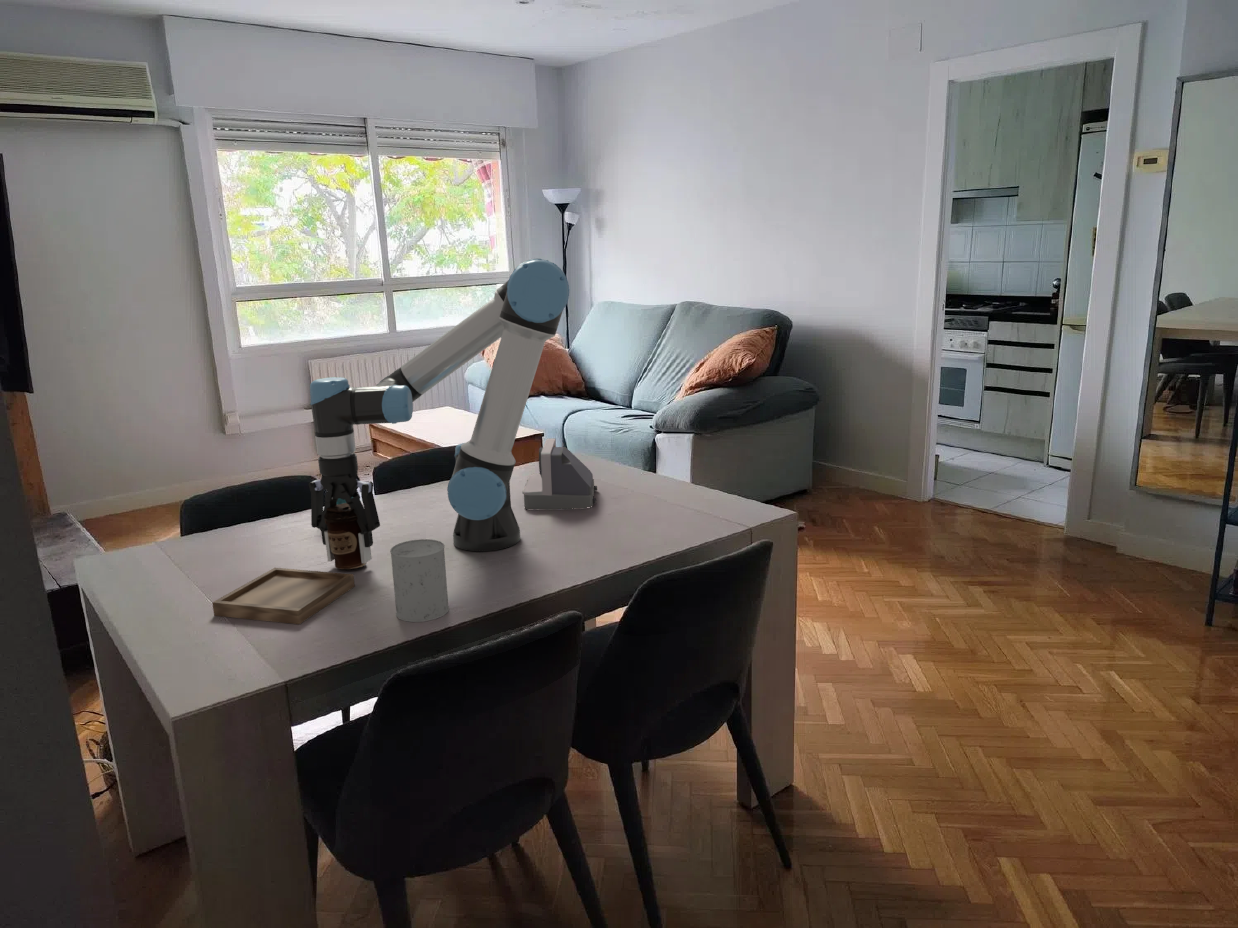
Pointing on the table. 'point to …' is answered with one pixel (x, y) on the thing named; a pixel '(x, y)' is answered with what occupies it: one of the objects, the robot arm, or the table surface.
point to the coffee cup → (344, 536)
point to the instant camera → (559, 481)
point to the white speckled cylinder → (419, 580)
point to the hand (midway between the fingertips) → (349, 559)
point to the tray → (284, 595)
